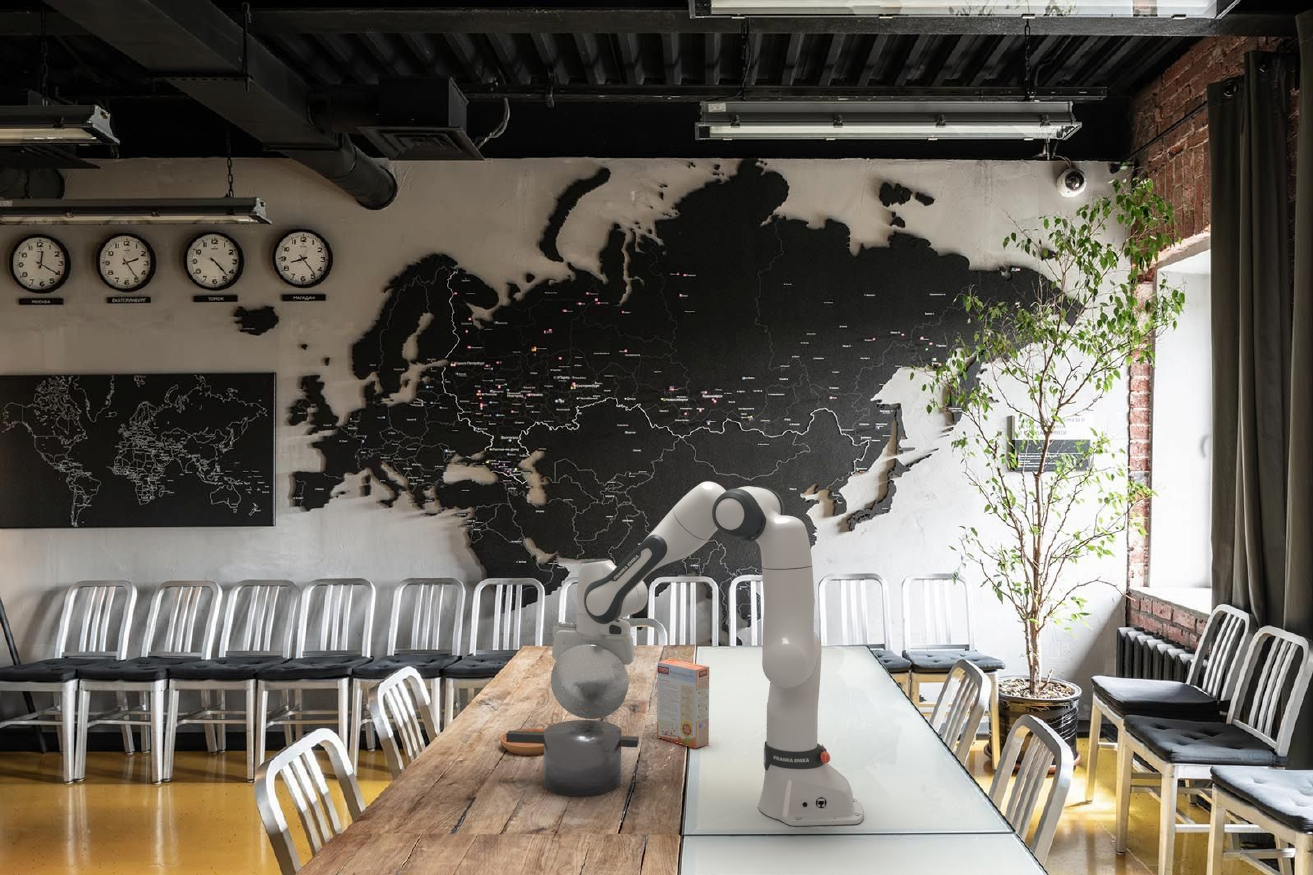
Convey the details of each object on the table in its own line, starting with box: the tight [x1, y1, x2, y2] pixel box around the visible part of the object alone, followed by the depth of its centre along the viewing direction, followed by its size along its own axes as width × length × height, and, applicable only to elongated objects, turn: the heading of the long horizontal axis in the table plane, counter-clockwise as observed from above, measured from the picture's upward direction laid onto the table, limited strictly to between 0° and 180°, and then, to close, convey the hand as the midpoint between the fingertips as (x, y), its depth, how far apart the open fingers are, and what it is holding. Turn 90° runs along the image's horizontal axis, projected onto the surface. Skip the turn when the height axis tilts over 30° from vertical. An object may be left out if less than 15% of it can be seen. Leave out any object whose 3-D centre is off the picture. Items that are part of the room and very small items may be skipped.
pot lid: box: [550, 644, 630, 720], centre depth 227 cm, size 19×19×3 cm
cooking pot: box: [506, 719, 640, 798], centre depth 218 cm, size 31×18×12 cm, turn 84°
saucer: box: [499, 727, 546, 756], centre depth 244 cm, size 16×16×3 cm
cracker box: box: [656, 658, 710, 750], centre depth 250 cm, size 14×6×21 cm, turn 47°
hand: (592, 679), depth 230 cm, fingers closed, pressing on pot lid
